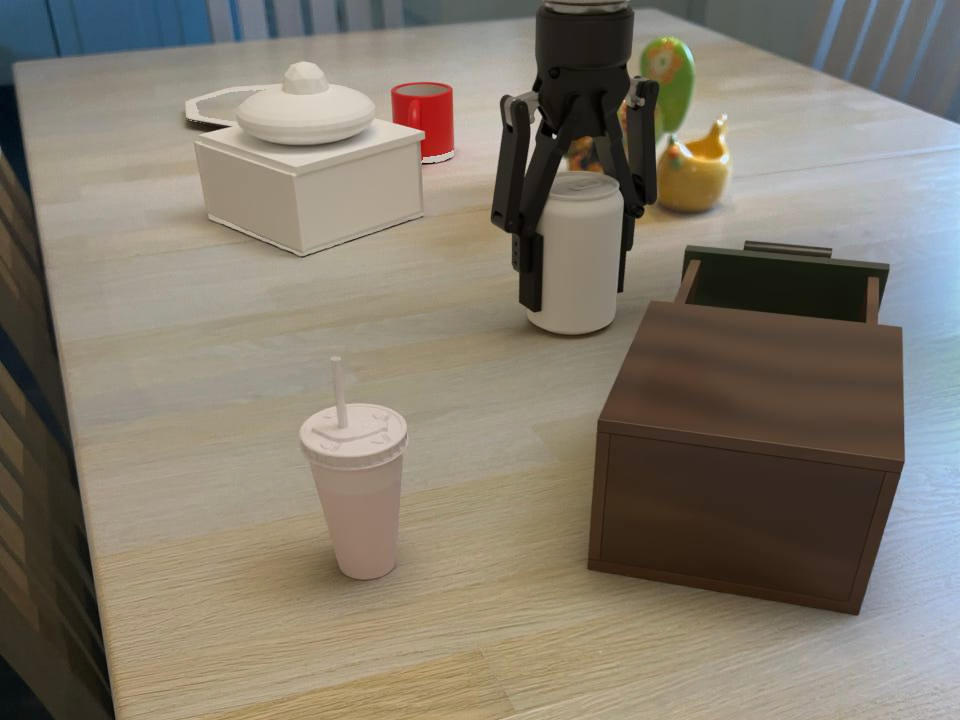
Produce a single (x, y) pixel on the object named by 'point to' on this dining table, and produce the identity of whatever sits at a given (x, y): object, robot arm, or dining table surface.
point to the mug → (426, 114)
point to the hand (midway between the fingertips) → (571, 296)
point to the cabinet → (750, 454)
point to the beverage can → (580, 253)
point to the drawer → (783, 281)
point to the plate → (191, 104)
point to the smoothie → (358, 478)
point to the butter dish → (310, 164)
